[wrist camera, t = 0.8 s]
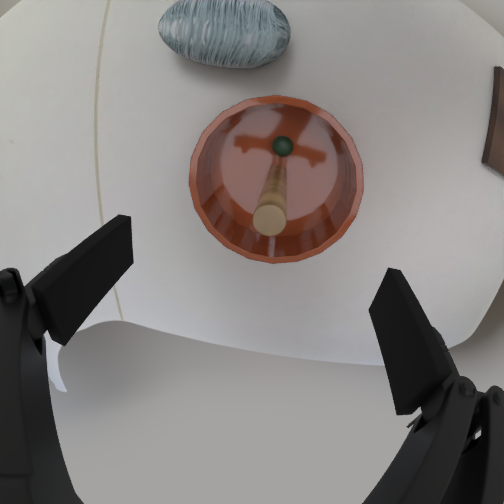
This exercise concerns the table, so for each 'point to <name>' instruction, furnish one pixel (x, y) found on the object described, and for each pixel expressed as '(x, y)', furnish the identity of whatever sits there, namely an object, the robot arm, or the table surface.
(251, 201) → the bowl
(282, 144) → the bead
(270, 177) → the stick
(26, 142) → the table surface
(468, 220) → the table surface
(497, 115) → the brown board
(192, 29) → the blue yarn skein
